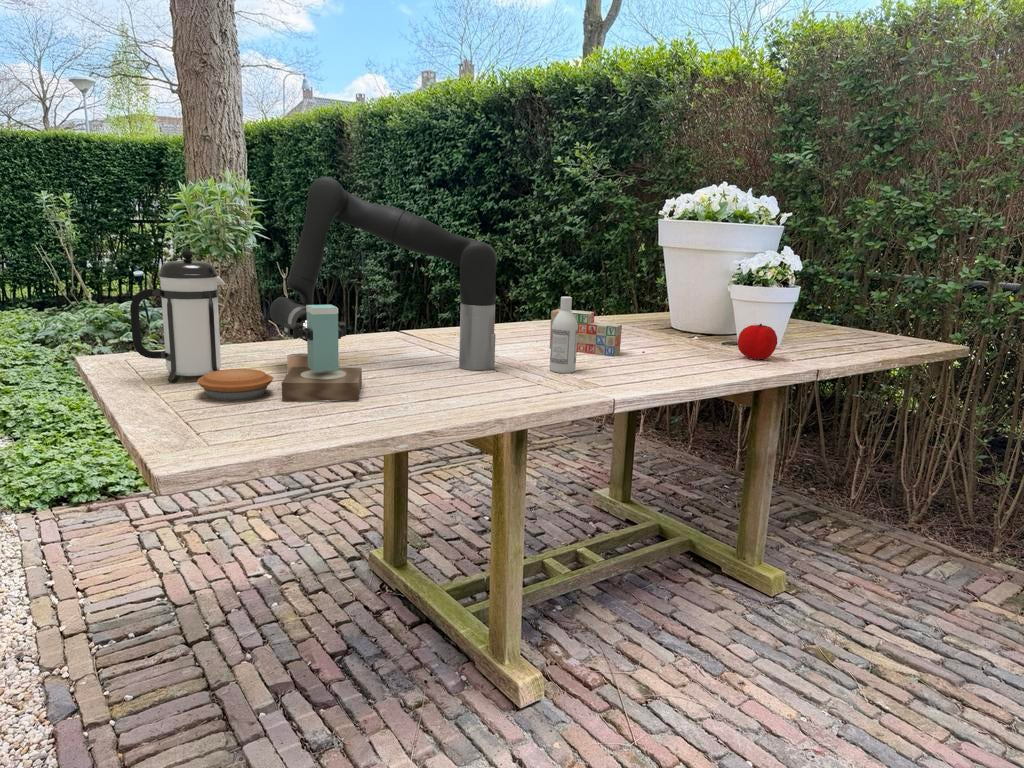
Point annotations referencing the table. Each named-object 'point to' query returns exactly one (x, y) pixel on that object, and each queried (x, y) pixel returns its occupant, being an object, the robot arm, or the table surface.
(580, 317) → the stack of blocks
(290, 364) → the beige block
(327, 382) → the tissue box
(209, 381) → the pie
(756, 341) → the tomato
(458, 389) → the table surface
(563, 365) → the bath foam
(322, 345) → the carton
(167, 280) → the coffee press
